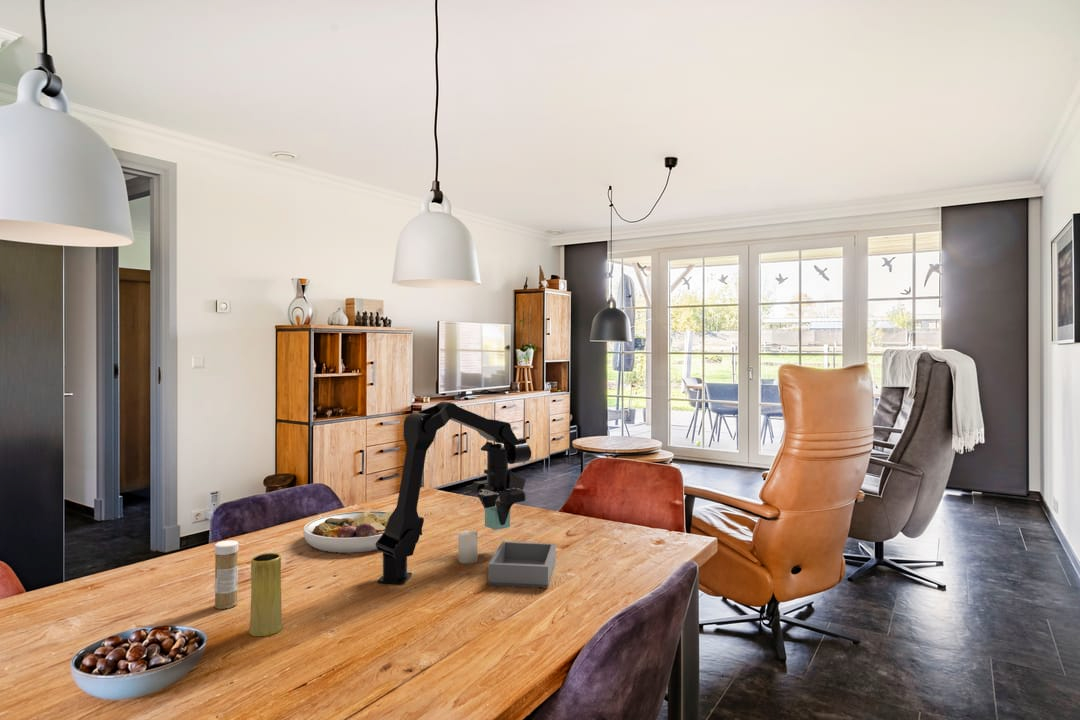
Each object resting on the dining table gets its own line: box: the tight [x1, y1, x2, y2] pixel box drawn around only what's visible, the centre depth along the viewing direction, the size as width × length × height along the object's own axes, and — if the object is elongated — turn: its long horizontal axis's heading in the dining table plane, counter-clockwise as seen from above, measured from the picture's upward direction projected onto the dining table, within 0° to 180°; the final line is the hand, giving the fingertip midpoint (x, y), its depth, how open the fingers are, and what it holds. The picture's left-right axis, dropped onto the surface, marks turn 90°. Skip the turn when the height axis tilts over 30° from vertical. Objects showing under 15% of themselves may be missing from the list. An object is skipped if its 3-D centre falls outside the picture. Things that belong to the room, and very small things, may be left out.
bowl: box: [302, 510, 393, 554], centre depth 181 cm, size 30×30×8 cm
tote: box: [487, 540, 557, 588], centre depth 153 cm, size 18×14×5 cm
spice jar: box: [213, 539, 239, 610], centre depth 132 cm, size 5×5×14 cm
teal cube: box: [484, 505, 511, 531], centre depth 171 cm, size 5×5×5 cm
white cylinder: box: [457, 530, 479, 564], centre depth 163 cm, size 5×5×7 cm
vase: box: [248, 552, 284, 637], centre depth 120 cm, size 6×6×14 cm
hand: (497, 522), depth 171 cm, fingers closed on teal cube, 5 cm apart
